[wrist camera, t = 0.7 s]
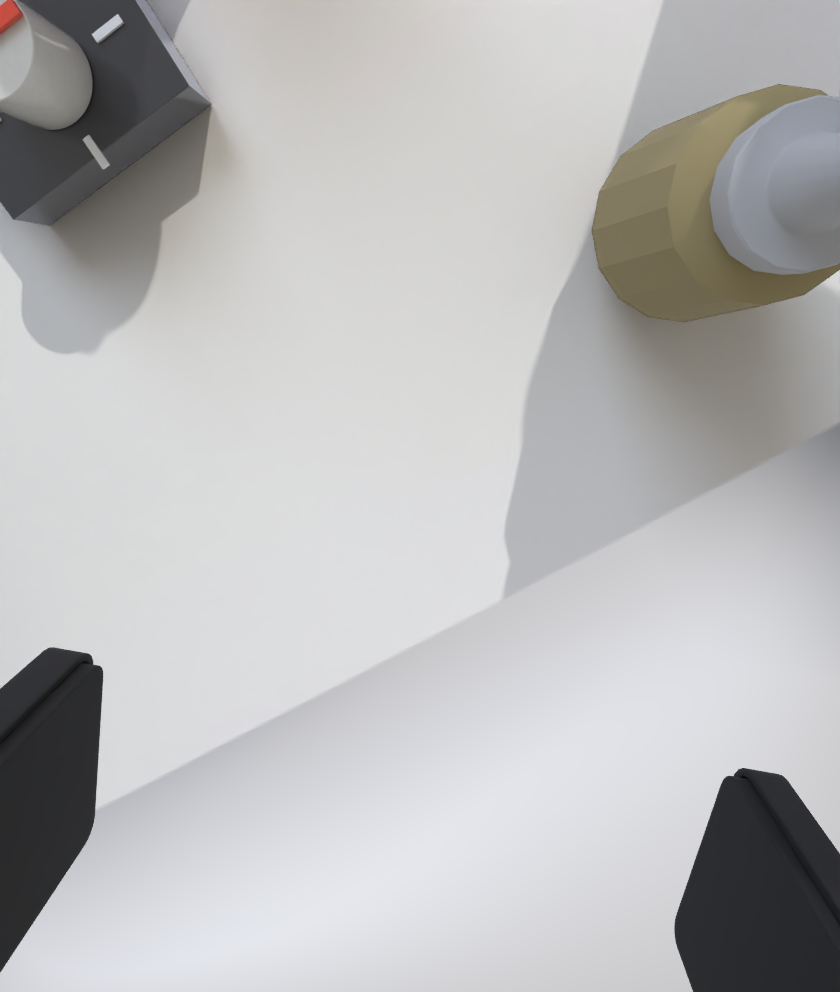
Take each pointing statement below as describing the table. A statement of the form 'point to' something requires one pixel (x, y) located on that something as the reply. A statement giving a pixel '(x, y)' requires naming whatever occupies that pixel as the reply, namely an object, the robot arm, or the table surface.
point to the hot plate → (99, 109)
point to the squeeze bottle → (725, 207)
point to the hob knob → (40, 70)
